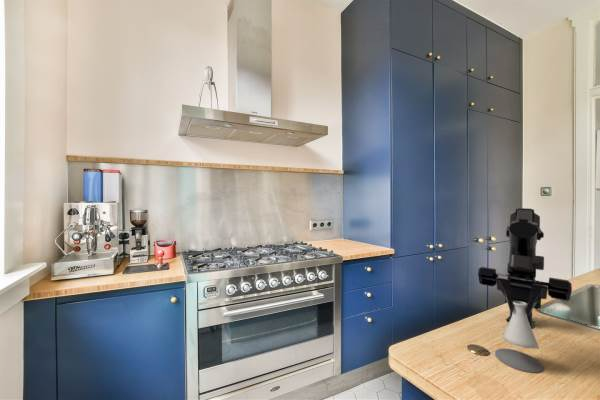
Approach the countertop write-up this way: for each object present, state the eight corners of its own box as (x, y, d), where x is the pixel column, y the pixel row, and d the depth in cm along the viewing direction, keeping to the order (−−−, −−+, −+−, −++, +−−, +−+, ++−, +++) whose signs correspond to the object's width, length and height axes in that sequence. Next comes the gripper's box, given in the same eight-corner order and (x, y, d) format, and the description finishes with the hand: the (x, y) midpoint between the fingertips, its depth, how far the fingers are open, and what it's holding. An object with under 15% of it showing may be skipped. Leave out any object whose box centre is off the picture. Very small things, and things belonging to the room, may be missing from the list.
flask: (508, 346, 66) (508, 305, 66) (497, 334, 73) (497, 296, 73) (545, 352, 64) (544, 309, 64) (530, 339, 70) (530, 300, 71)
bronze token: (471, 343, 77) (471, 342, 77) (491, 351, 73) (491, 350, 73) (464, 349, 73) (464, 348, 73) (485, 358, 70) (485, 357, 69)
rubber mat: (501, 345, 75) (501, 344, 75) (546, 362, 68) (546, 361, 68) (489, 358, 69) (489, 357, 69) (538, 378, 62) (538, 377, 62)
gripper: (480, 238, 77) (472, 287, 69) (572, 247, 65) (576, 308, 57) (482, 260, 83) (476, 307, 75) (567, 272, 71) (570, 330, 63)
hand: (519, 312), depth 67 cm, fingers closed on flask, 3 cm apart
